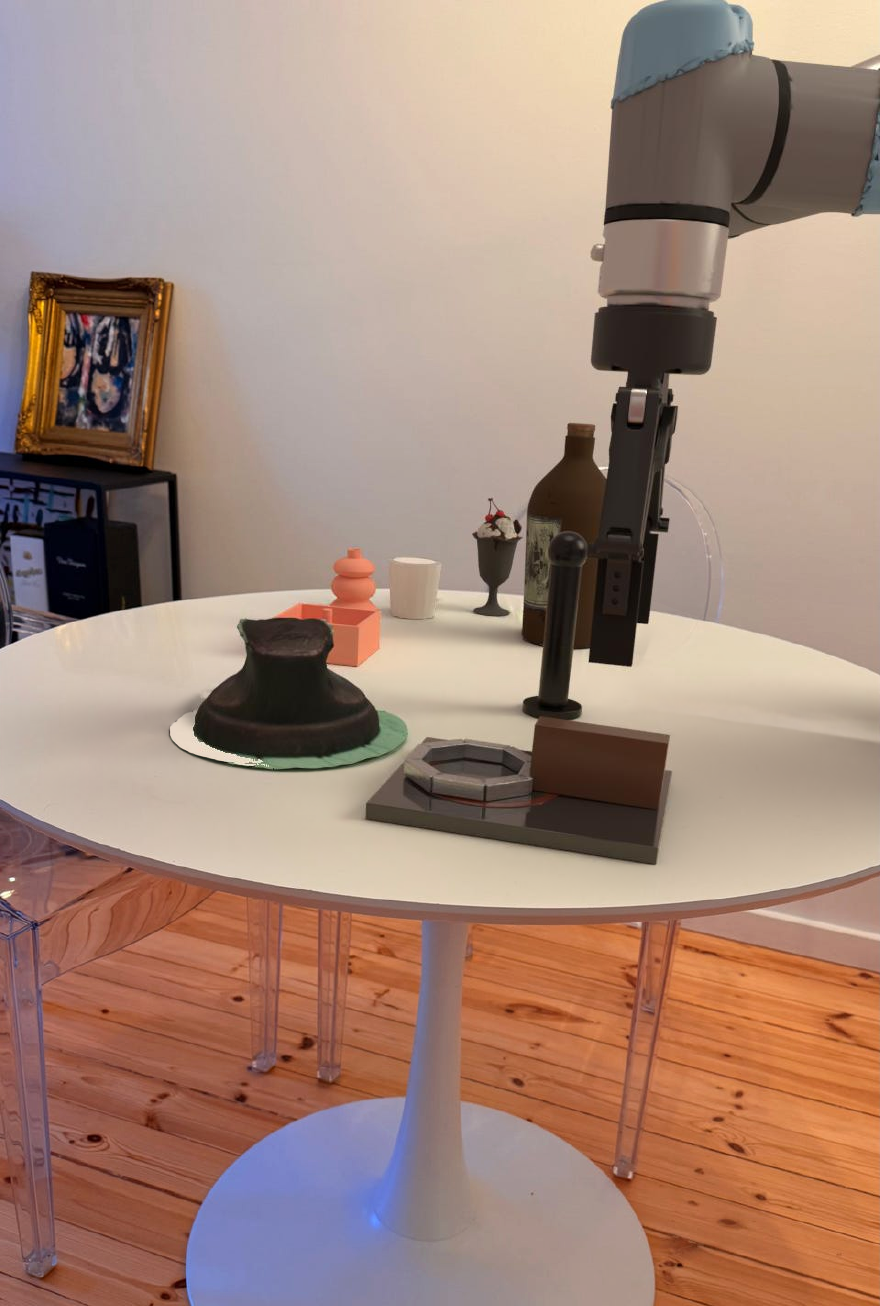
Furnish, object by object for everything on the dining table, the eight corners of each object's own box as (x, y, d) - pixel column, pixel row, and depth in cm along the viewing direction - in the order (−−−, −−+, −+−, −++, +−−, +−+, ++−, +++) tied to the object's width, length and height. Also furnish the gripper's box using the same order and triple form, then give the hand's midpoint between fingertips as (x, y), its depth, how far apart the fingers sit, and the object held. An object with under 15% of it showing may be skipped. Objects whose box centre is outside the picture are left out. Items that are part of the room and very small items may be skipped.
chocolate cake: (142, 693, 97) (350, 684, 106) (187, 858, 86) (414, 833, 95) (161, 558, 86) (390, 561, 95) (214, 727, 76) (466, 713, 85)
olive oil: (572, 628, 138) (593, 422, 130) (621, 647, 130) (647, 428, 121) (500, 632, 134) (517, 418, 125) (546, 652, 125) (567, 424, 116)
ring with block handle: (663, 783, 82) (673, 720, 80) (654, 829, 73) (665, 759, 72) (427, 747, 86) (431, 686, 84) (391, 786, 77) (395, 719, 76)
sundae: (463, 614, 142) (471, 497, 137) (470, 605, 149) (479, 492, 143) (512, 619, 141) (523, 501, 136) (518, 609, 148) (528, 496, 142)
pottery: (357, 666, 114) (360, 572, 110) (271, 656, 115) (272, 564, 112) (398, 631, 130) (402, 549, 127) (322, 623, 132) (324, 542, 129)
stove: (670, 785, 85) (672, 769, 85) (656, 864, 71) (658, 846, 70) (425, 750, 90) (426, 735, 89) (365, 818, 75) (365, 801, 75)
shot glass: (416, 622, 136) (419, 566, 134) (375, 613, 140) (377, 558, 137) (449, 615, 141) (452, 561, 139) (408, 606, 145) (411, 553, 143)
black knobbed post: (584, 707, 104) (604, 530, 99) (577, 723, 99) (597, 537, 93) (527, 700, 106) (543, 524, 100) (517, 715, 101) (533, 531, 95)
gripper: (616, 315, 79) (589, 603, 87) (567, 285, 57) (536, 678, 64) (721, 318, 78) (684, 611, 85) (714, 289, 55) (664, 692, 63)
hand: (621, 641), depth 75 cm, fingers open, 13 cm apart
